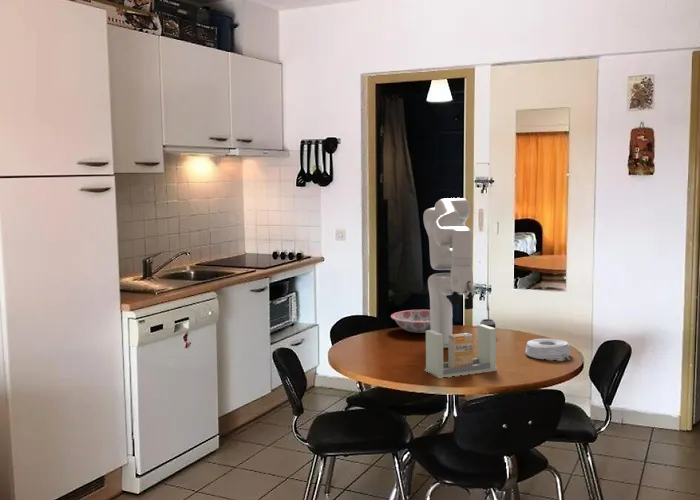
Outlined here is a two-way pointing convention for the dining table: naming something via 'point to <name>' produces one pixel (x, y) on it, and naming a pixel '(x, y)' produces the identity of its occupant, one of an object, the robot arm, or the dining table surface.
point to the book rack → (480, 365)
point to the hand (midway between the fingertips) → (462, 306)
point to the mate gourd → (488, 320)
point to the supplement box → (460, 350)
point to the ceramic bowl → (413, 320)
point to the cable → (548, 349)
